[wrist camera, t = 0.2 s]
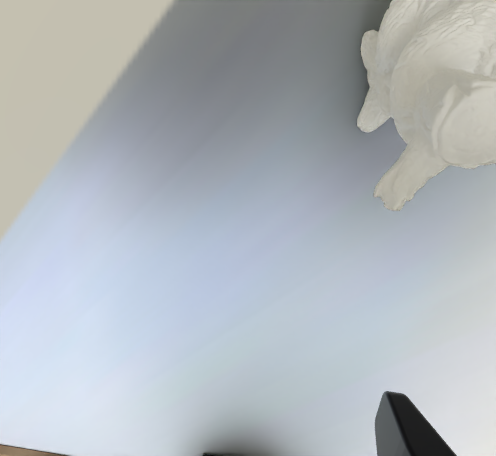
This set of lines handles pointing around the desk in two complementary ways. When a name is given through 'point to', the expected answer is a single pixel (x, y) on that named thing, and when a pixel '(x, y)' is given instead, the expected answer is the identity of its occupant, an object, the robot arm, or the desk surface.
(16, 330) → the desk surface
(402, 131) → the koala figurine
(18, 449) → the standards
